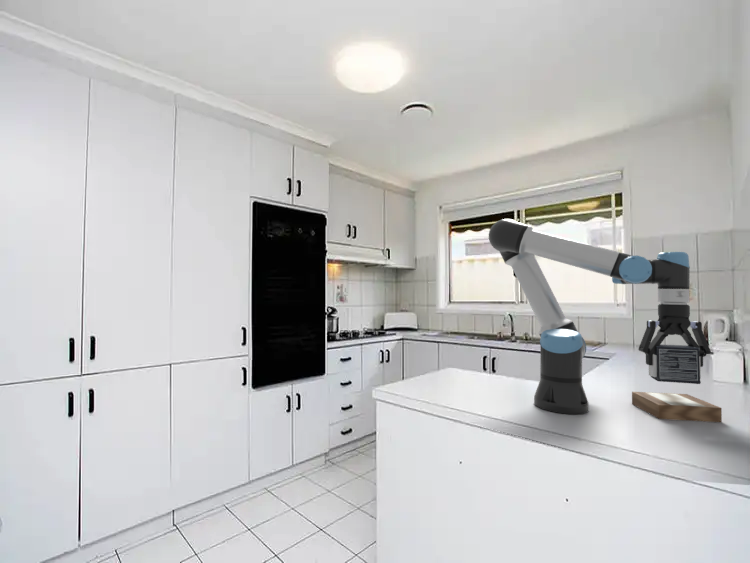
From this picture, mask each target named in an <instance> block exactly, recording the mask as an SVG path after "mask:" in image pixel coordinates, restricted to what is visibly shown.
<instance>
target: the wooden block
mask: <svg viewBox="0 0 750 563" xmlns="http://www.w3.org/2000/svg"><path fill="white" fill-rule="evenodd" d="M631 405H633V406H635V407H636V408H639V409H640V410H642V411H644V412H645V411H646V413H648V414H649V413H650V414H649V415H651V416H652V417H654V416H655V417H654V418H656V419H658V420H669V421H670V420H671V421H673V420H674V421H688V422H689V421H691V422H692V421H693V422H694V421H695V422H709V423H710V422H711V423H722V417H723V416H722V415H723V414H722V407H720V406H718V405H715V404H713V403H710V402H708V401H705V400H703V399H700V398H697V397H695V396H692V395H690V394H688V393H672V392H671V393H669V392H668V393H667V392H650V391H649V392H646V391H631Z"/></svg>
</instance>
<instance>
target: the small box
mask: <svg viewBox="0 0 750 563" xmlns="http://www.w3.org/2000/svg"><path fill="white" fill-rule="evenodd" d="M654 355H657V377H652V376H650V378H651V379H653V380H655V381H657V382H661V383H662V382H663V383H679V384H691V385H692V384H693V385H701V382H702V381H701V379H700V368H701V367H700V361H699V348H697V347H693V346H688V345H684V344H683V345H679V344H660V346H656V351H655V352H654Z"/></svg>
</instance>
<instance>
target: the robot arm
mask: <svg viewBox="0 0 750 563" xmlns="http://www.w3.org/2000/svg"><path fill="white" fill-rule="evenodd" d="M488 241H489V243H490V246H492V248H493V249H494V250H496V251H498V252H499V254H500V256H501V257H502V259H503V262H504V264H505V265H507V266H510V267H511V269H512V270H513V272H514V274H515V277H516V279H517V280H518V282H519V285H520V287H521V289H522V291H523V293H524V295H525V297H526V299H527V301H528V303H529V306H530V307H531V309H532V310H531V311H532V312H533V313H534V316H535V318H536V320H537V322H538V324H539V326H540V329H539V332H538V335H539V336H540V338H539V343H540V360H539V362H540V365H539V367H540V368H539V371H540V372H539V373H540V376H539V377H540V378H539V382H538V385H537V388H536V390H535V393H534V395H533V396H534V398H533V402H534V403H533V405H535V406H536V407H537V408H540V409H543V410H545V411H550V412H553V413H557V414H558V413H559V414H566V415H567V414H568V415H582V414H586V413H588V412H589V410H590V408H589V400H588V397H587V395H586V392H585V389H584V386H583V385H584V384H583V359H584V358H585V355H586V352H587V345H586V340H585V339H584V337H583V336H582V334H581V333H580V332H579V330H578V329H577V327H576V325H575V323H574V321H573V320H572V319H569V318H566V316H565V314H564V312H563V311H562V308H561V306H560V304H559V302H558V301H557V298H556V297H555V294H554V292H553V290H552V288H551V286H550V284H549V282H548V280H547V278H546V276H545V274H544V272H543V270H542V269H541V266H540V265H539V263H538V260H537V259H536V257H535V256H537V257H540V258H545V259H548V260H551V261H554V262H559V263H562V264H566V265H568V266H571V267H576V268H579V269H583V270H586V271H590V272H593V273H597V274H600V275H604V276H606V277H611V282H612V283H613V284H617V285H620V284H621V285H643V284H644V285H646V284H647V285H649V284H651V285H654V284H655V285H656V284H657V302H658V305H657V315H658V319H657V320H650V319H648V320H646V327H645V330H644V333H643V336H642V339H641V341H640V344H639V347H638V351H639V352H642V353H644V354H645V365H648V376H650V377H651V376H652V377H657V355H654V352H655V351H656V346H660V345H662V343H663V341H665V339H666V338H667V337H669V336H674V335H677V336H680V337H681V338H682V339H683V340H684V342H685V343H686V345H687V346H693V347H697V348H699V361H700V380H701V379H702V378H701V377H702V376H701V371H702V370H701V368H702V367H703V366H704V357H707V355H710V354H712V351H711V348H710V345H709V344H708V341H707V338H706V336H705V334H704V331H703V328H702V326H703V324H702V321H700V320H699V321H697V320H692V321H691V320H690V316H691V312H690V311H691V310H690V309H691V307H690V305H689V304H688V303H690V277H691V276H690V259H689V254H688V253H687V252H684V251H668V252H667V251H666V252H659V253H658V254H657V257H656V258H655V259H647V258H646V257H645V256H640V255H632V254H628V253H623V252H620V251H617V250H612V249H609V248H605V247H600V246H598V245H593V244H589V243H584V242H581V241H578V240H574V239H570V238H565V237H562V236H559V235H554V234H550V233H547V232H542V231H538V230H534V229H533V226H532V225H528V224H524V223H522V222H518V221H516V220H514V219H512V218H504V219H503V218H502V219H500V220H498V221H496V222H495V223H494V224H493V225H491V227H490V229H489V232H488ZM657 327H659V329H658V330H657V329H656V328H657ZM689 328H690V329H691V330H692V333H691V332H690V331H689ZM656 330H657V332H656ZM655 333H656V334H655ZM654 334H655V336H654ZM692 334H693V336H694V338H695V339H694V338H693V336H692ZM652 377H651V378H652Z"/></svg>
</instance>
